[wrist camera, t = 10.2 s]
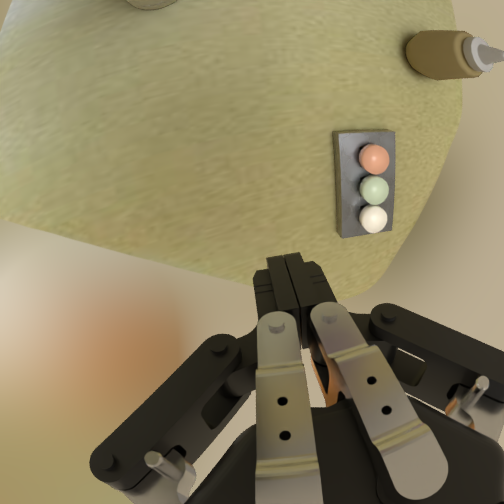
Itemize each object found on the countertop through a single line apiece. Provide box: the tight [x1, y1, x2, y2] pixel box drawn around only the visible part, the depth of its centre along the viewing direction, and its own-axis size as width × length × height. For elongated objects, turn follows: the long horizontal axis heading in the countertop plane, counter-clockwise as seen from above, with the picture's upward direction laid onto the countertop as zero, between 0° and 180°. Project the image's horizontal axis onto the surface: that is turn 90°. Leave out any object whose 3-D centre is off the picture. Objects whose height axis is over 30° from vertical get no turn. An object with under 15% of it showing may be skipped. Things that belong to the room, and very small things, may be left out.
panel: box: [333, 129, 395, 238], centre depth 40 cm, size 16×9×2 cm, turn 8°
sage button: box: [360, 175, 389, 205], centre depth 39 cm, size 4×4×4 cm
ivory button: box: [359, 204, 387, 233], centre depth 41 cm, size 4×4×4 cm
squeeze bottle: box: [406, 30, 504, 80], centre depth 23 cm, size 8×8×18 cm
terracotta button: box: [359, 144, 389, 175], centre depth 36 cm, size 4×4×4 cm
